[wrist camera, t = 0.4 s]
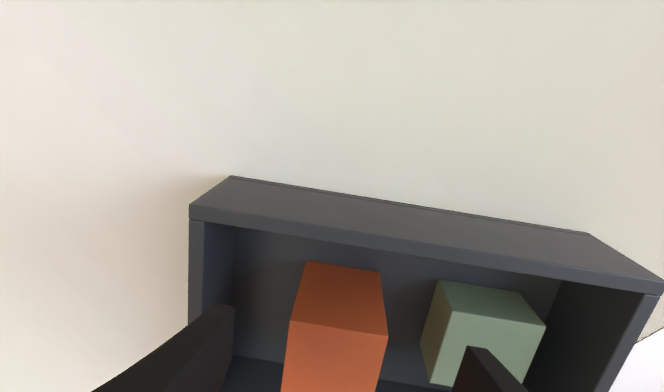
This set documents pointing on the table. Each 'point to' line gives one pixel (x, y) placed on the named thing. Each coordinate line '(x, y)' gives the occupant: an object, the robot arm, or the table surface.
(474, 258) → the tub
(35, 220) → the table surface
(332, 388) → the terracotta block
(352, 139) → the table surface
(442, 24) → the table surface
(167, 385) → the robot arm
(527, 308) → the sage block
